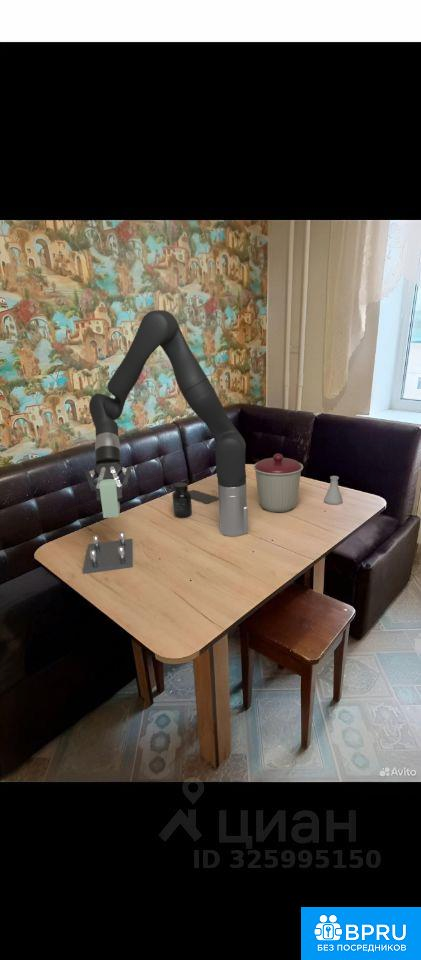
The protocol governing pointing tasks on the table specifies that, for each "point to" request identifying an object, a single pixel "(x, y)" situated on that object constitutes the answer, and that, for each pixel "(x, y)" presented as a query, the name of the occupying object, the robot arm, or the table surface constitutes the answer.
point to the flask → (333, 492)
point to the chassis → (109, 555)
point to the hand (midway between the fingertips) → (109, 501)
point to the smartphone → (202, 497)
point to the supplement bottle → (182, 501)
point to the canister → (278, 482)
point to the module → (109, 498)
